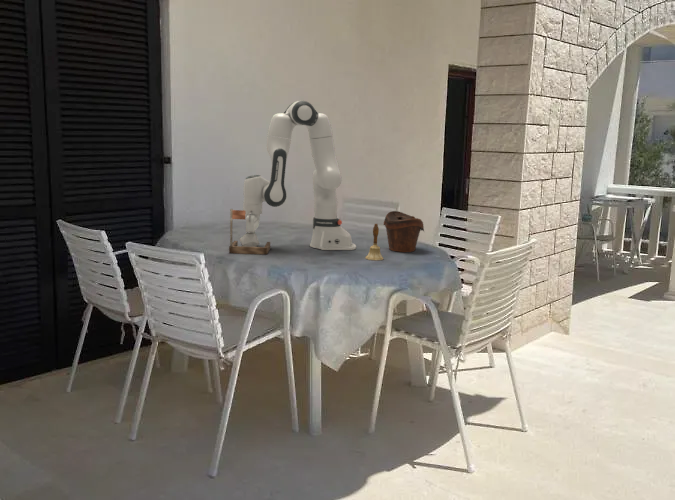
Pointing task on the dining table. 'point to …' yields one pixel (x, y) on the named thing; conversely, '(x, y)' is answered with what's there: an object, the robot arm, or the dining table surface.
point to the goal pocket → (234, 246)
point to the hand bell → (375, 247)
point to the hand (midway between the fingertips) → (252, 238)
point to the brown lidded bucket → (402, 231)
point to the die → (249, 240)
